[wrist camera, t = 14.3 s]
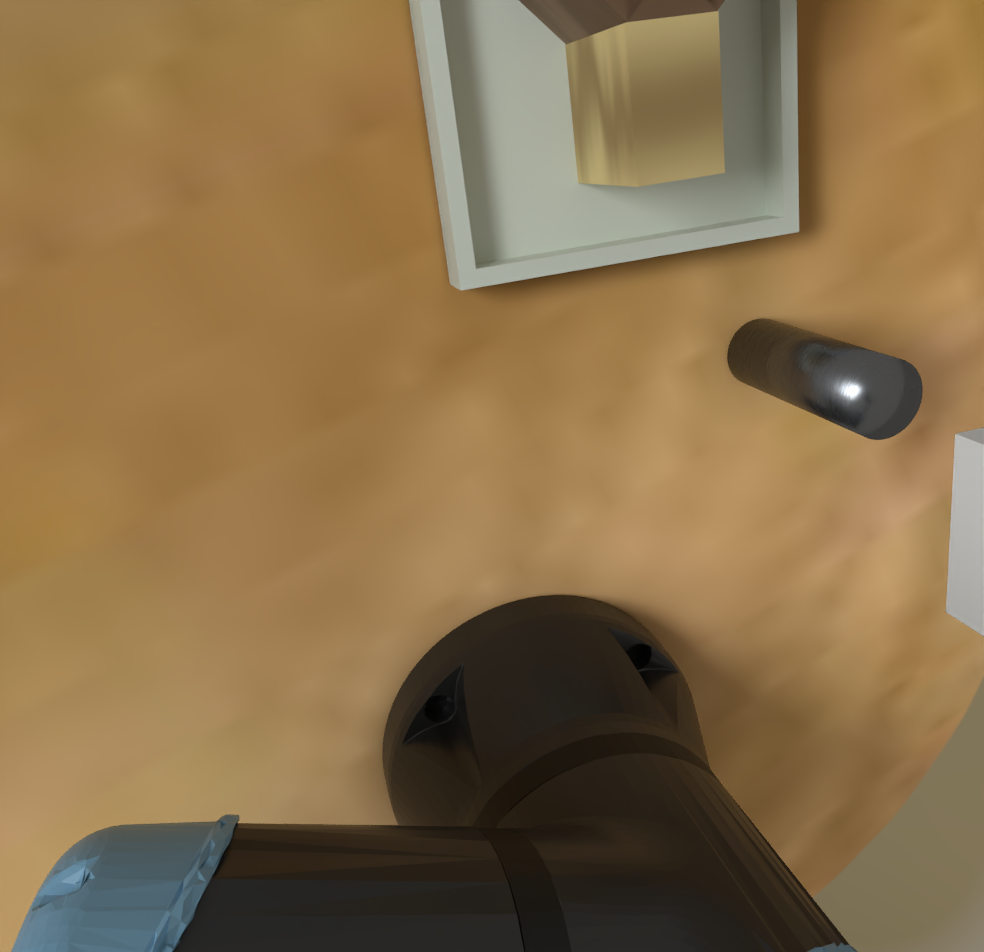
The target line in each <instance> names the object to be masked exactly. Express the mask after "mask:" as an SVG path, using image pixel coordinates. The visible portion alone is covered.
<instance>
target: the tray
mask: <svg viewBox="0 0 984 952" xmlns="http://www.w3.org/2000/svg"><path fill="white" fill-rule="evenodd" d="M409 5H410V12H411V19H412V26H413V33H414V40H415V47H416V53H417V60H418V67H419V74H420V81H421V88H422V95H423V101H424V108H425V115H426V122H427V129H428V136H429V143H430V149H431V156H432V163H433V170H434V177H435V184H436V191H437V198H438V204H439V211H440V218H441V225H442V232H443V239H444V246H445V252H446V259H447V266H448V273H449V280H450V284H451V285H452V286H454V287H456V288H457V289H459V290H467V289H473V288H478V287H484V286H490V285H496V284H501V283H507V282H513V281H519V280H525V279H530V278H536V277H542V276H548V275H553V274H559V273H565V272H571V271H576V270H582V269H588V268H594V267H600V266H605V265H611V264H617V263H623V262H628V261H634V260H640V259H646V258H651V257H657V256H663V255H669V254H675V253H680V252H686V251H692V250H698V249H703V248H709V247H715V246H721V245H726V244H732V243H738V242H744V241H749V240H755V239H761V238H767V237H773V236H778V235H784V234H790V233H796V232H799V173H798V79H797V0H725V1H724V2H723V4H722V5H721V7H720V8H719V9H718V12H719V37H720V62H721V87H722V112H723V137H724V162H725V173H721V174H715V175H709V176H702V177H696V178H690V179H684V180H677V181H671V182H665V183H659V184H652V185H646V186H640V187H633V186H617V185H601V184H585V183H578V175H577V165H576V154H575V144H574V133H573V123H572V112H571V101H570V91H569V80H568V70H567V59H566V49H565V45H566V44H565V43H564V42H563V41H562V40H561V39H560V38H559V37H557V36H556V35H555V34H554V33H553V32H552V31H551V30H550V29H549V28H548V27H547V26H546V25H545V24H543V23H542V22H541V21H540V20H539V19H538V18H537V17H536V16H535V15H534V14H533V13H532V12H531V11H529V10H528V9H527V8H526V7H525V6H524V5H523V4H522V3H521V2H520V1H519V0H409Z"/></svg>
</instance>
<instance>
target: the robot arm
mask: <svg viewBox="0 0 984 952" xmlns="http://www.w3.org/2000/svg"><path fill="white" fill-rule="evenodd" d="M946 612H947V613H948V614H950V615H951V616H953V617H954V618H956V619H958V620H959V621H961V622H962V623H964V624H965V625H967V626H968V627H970V628H972V629H973V630H975V631H976V632H978V633H979V634H981V635H982V636H984V427H983V428H979V429H975V430H970V431H966V432H961V433H957V434H955V450H954V469H953V488H952V507H951V526H950V545H949V564H948V583H947V602H946ZM383 768H384V775H385V780H386V784H387V788H388V793H389V797H390V801H391V805H392V809H393V812H394V815H395V818H396V821H397V823H398V825H324V824H248V823H237V822H238V821H239V817H240V816H239V815H224V816H222V817H221V818H220V819H219V820H218V821H216V822H188V823H160V824H132V825H119V826H112V827H108V828H105V829H102V830H99V831H96V832H94V833H92V834H90V835H88V836H86V837H85V838H83V839H81V840H80V841H79V842H77V843H76V844H74V845H73V846H72V847H71V848H70V849H69V850H68V851H67V852H66V853H65V854H64V855H63V856H62V857H61V858H60V859H59V860H58V861H57V862H56V864H55V866H54V867H53V868H52V870H51V871H50V872H49V874H48V876H47V877H46V879H45V880H44V882H43V884H42V885H41V887H40V889H39V891H38V893H37V895H36V897H35V899H34V901H33V903H32V905H31V907H30V909H29V911H28V913H27V915H26V917H25V920H24V922H23V924H22V927H21V929H20V931H19V934H18V936H17V939H16V941H15V944H14V946H13V948H12V951H11V952H857V951H856V950H855V949H854V948H853V947H851V946H850V945H849V944H848V942H847V941H846V940H845V939H844V937H843V936H842V935H841V934H840V932H839V931H838V930H837V928H836V927H835V926H834V925H833V924H832V922H831V921H830V920H829V919H828V917H827V916H826V915H825V913H824V912H823V911H822V910H821V908H820V907H819V906H818V905H817V903H816V902H815V901H814V900H813V898H812V897H811V896H810V895H809V893H808V892H807V891H806V889H805V888H804V887H803V886H802V884H801V883H800V882H799V881H798V879H797V878H796V877H795V876H794V874H793V873H792V872H791V871H790V869H789V868H788V867H787V866H786V864H785V863H784V862H783V861H782V859H781V858H780V857H779V856H778V854H777V853H776V852H775V851H774V849H773V848H772V847H771V845H770V844H769V843H768V842H767V840H766V839H765V838H764V837H763V835H762V834H761V833H760V832H759V830H758V829H757V828H756V827H755V825H754V824H753V823H752V822H751V820H750V819H749V818H748V817H747V815H746V814H745V813H744V812H743V810H742V809H741V808H740V806H739V805H738V804H737V803H736V801H735V800H734V799H733V798H732V796H731V795H730V794H729V793H728V791H727V790H726V789H725V788H724V787H723V785H722V784H721V783H720V782H719V780H718V779H717V778H716V776H715V775H714V774H713V772H712V771H711V770H710V767H709V762H708V758H707V754H706V750H705V746H704V742H703V738H702V734H701V730H700V726H699V722H698V718H697V714H696V710H695V706H694V702H693V699H692V695H691V692H690V690H689V687H688V685H687V683H686V681H685V678H684V676H683V675H682V673H681V671H680V669H679V668H678V666H677V664H676V663H675V661H674V660H673V659H672V658H671V656H670V655H669V654H668V653H667V651H666V650H665V649H664V648H663V647H662V646H661V644H660V643H659V642H658V641H657V640H656V638H655V637H654V636H653V635H652V634H651V633H650V632H649V631H648V630H647V629H646V628H645V627H644V626H643V625H642V624H641V623H639V622H638V621H637V620H635V619H634V618H633V617H631V616H629V615H628V614H626V613H625V612H623V611H621V610H619V609H617V608H615V607H612V606H610V605H607V604H604V603H601V602H598V601H595V600H590V599H586V598H580V597H571V596H543V597H535V598H528V599H523V600H518V601H515V602H511V603H507V604H504V605H501V606H499V607H496V608H493V609H491V610H488V611H486V612H484V613H482V614H480V615H478V616H476V617H474V618H472V619H470V620H468V621H467V622H465V623H463V624H462V625H460V626H459V627H457V628H456V629H454V630H453V631H451V632H450V633H449V634H448V635H446V636H445V637H444V638H442V639H441V640H440V641H439V642H438V643H437V644H436V645H434V646H433V647H432V648H431V649H430V650H429V651H428V652H427V653H426V654H425V655H424V656H423V658H422V659H421V660H420V661H419V662H418V663H417V665H416V666H415V667H414V669H413V670H412V671H411V673H410V674H409V675H408V677H407V678H406V680H405V682H404V683H403V685H402V687H401V688H400V690H399V692H398V694H397V696H396V698H395V700H394V703H393V705H392V708H391V710H390V713H389V716H388V720H387V723H386V728H385V733H384V740H383Z"/></svg>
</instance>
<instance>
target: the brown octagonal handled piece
mask: <svg viewBox="0 0 984 952" xmlns="http://www.w3.org/2000/svg"><path fill="white" fill-rule="evenodd" d="M519 1H520V2H521V3H522V4H523V5H524V6H525V7H526V8H527V9H528V10H529V11H531V12H532V13H533V14H534V15H535V16H536V17H537V18H538V19H539V20H540V21H541V22H542V23H543V24H545V25H546V26H547V27H548V28H549V29H550V30H551V31H552V32H553V33H554V34H555V35H556V36H557V37H559V38H560V39H561V40H562V41H563V42H564V43H565V44H566V45H565V49H566V59H567V70H568V80H569V91H570V101H571V112H572V123H573V133H574V144H575V154H576V165H577V175H578V183H585V184H601V185H617V186H633V187H640V186H646V185H652V184H659V183H665V182H671V181H677V180H684V179H690V178H696V177H702V176H709V175H715V174H721V173H725V162H724V137H723V112H722V87H721V62H720V37H719V12H718V9H719V8H720V7H721V5H722V4H723V2H724V1H725V0H519Z"/></svg>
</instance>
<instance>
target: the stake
mask: <svg viewBox="0 0 984 952" xmlns="http://www.w3.org/2000/svg"><path fill="white" fill-rule="evenodd" d="M727 359H728V365H729V368H730V371H731V372H732V374H733V375H734V377H735V378H737V379H738V380H739V381H741V382H743V383H745V384H747V385H749V386H752V387H754V388H756V389H758V390H761V391H763V392H765V393H767V394H770V395H772V396H774V397H776V398H779V399H781V400H783V401H785V402H788V403H790V404H792V405H794V406H797V407H799V408H801V409H803V410H806V411H808V412H810V413H812V414H815V415H817V416H819V417H821V418H824V419H826V420H828V421H830V422H833V423H835V424H837V425H839V426H842V427H844V428H846V429H848V430H851V431H853V432H855V433H857V434H860V435H862V436H864V437H866V438H869V439H874V440H881V439H887V438H890V437H892V436H895V435H896V434H898V433H900V432H901V431H902V430H904V429H905V428H906V427H907V426H908V425H909V423H910V422H911V421H912V420H913V418H914V417H915V415H916V413H917V411H918V409H919V406H920V403H921V399H922V381H921V378H920V375H919V373H918V372H917V370H916V369H915V368H914V366H913V365H911V364H910V363H908V362H907V361H904V360H901V359H898V358H895V357H892V356H888V355H885V354H882V353H878V352H875V351H872V350H868V349H865V348H862V347H858V346H855V345H852V344H848V343H845V342H842V341H838V340H835V339H832V338H828V337H825V336H822V335H819V334H815V333H812V332H809V331H805V330H802V329H799V328H795V327H792V326H789V325H785V324H782V323H779V322H775V321H772V320H769V319H756V320H752V321H750V322H748V323H746V324H745V325H743V326H742V327H741V328H740V329H739V330H738V331H737V332H736V333H735V335H734V336H733V338H732V340H731V342H730V345H729V348H728V356H727Z"/></svg>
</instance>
